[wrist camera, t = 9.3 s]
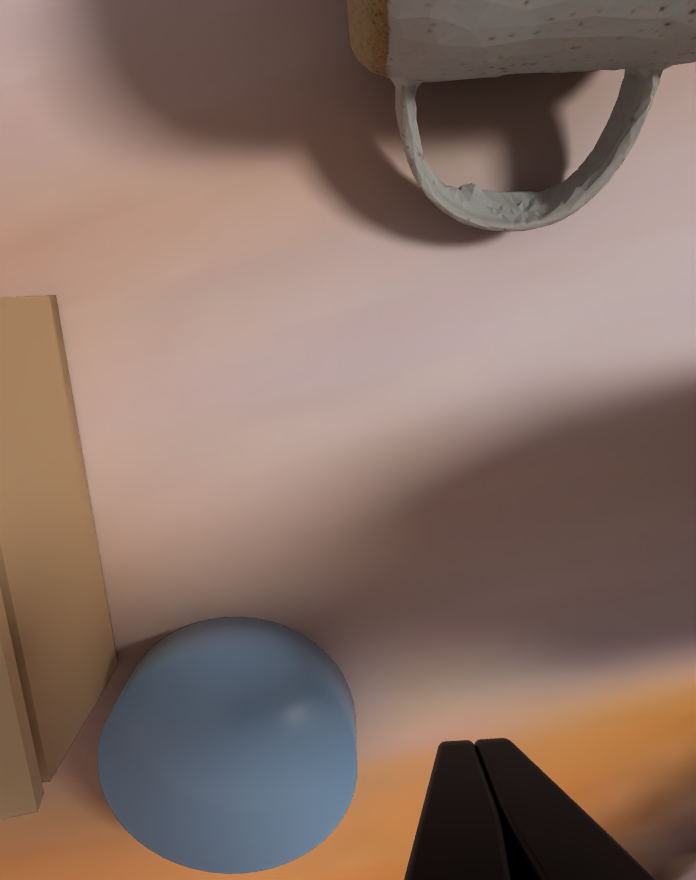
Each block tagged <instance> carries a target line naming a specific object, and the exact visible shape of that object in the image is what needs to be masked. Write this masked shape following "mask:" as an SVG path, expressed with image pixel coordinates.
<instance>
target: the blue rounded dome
mask: <svg viewBox="0 0 696 880" xmlns="http://www.w3.org/2000/svg"><path fill="white" fill-rule="evenodd" d="M97 766H98V775H99V780H100V784H101V788H102V791H103V794H104V796H105V798H106V801H107V803H108V805H109V807H110V809H111V810H112V812H113V813H114V815H115V817H116V818H117V819H118V821H119V822H120V823H121V824H122V826H123V827H124V828H125V829H126V830H127V831H128V832H129V833H130V834H131V835H132V836H133V837H134V838H135V839H136V840H137V841H139V842H140V843H141V844H143V845H144V846H145V847H147V848H148V849H149V850H151V851H153V852H155V853H156V854H158V855H160V856H161V857H163V858H165V859H168V860H170V861H172V862H175V863H177V864H180V865H183V866H186V867H189V868H192V869H197V870H202V871H207V872H214V873H224V874H234V873H250V872H258V871H262V870H267V869H271V868H275V867H277V866H280V865H283V864H286V863H289V862H291V861H293V860H295V859H297V858H299V857H301V856H303V855H304V854H306V853H307V852H309V851H311V850H312V849H314V848H315V847H316V846H318V845H319V844H320V843H321V842H322V841H324V840H325V839H326V838H327V837H328V836H329V835H330V834H331V832H332V831H333V830H334V829H335V828H336V827H337V825H338V824H339V822H340V821H341V820H342V818H343V817H344V815H345V813H346V811H347V809H348V807H349V805H350V803H351V800H352V797H353V793H354V790H355V785H356V779H357V745H356V716H355V708H354V702H353V698H352V695H351V692H350V689H349V686H348V684H347V682H346V680H345V678H344V676H343V674H342V673H341V671H340V670H339V668H338V667H337V665H336V664H335V663H334V662H333V661H332V659H331V658H330V657H329V656H328V655H327V654H326V653H325V652H324V651H323V650H322V649H321V648H320V647H318V646H317V645H316V644H315V643H314V642H312V641H311V640H309V639H308V638H306V637H305V636H303V635H301V634H299V633H297V632H295V631H293V630H291V629H290V628H287V627H285V626H282V625H279V624H276V623H273V622H269V621H265V620H261V619H255V618H246V617H222V618H214V619H208V620H204V621H200V622H196V623H193V624H190V625H188V626H185V627H183V628H180V629H178V630H176V631H175V632H173V633H171V634H169V635H167V636H166V637H164V638H163V639H162V640H160V641H159V642H157V643H156V644H155V645H154V646H153V647H152V648H151V649H150V650H149V651H148V652H147V653H145V654H144V656H143V657H142V658H141V660H140V661H139V662H138V664H137V665H136V666H135V668H134V670H133V672H132V673H131V675H130V677H129V679H128V681H127V683H126V684H125V686H124V688H123V690H122V692H121V694H120V696H119V697H118V699H117V701H116V703H115V705H114V707H113V709H112V710H111V712H110V714H109V716H108V718H107V720H106V722H105V724H104V727H103V730H102V733H101V736H100V741H99V746H98V756H97Z"/></svg>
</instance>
